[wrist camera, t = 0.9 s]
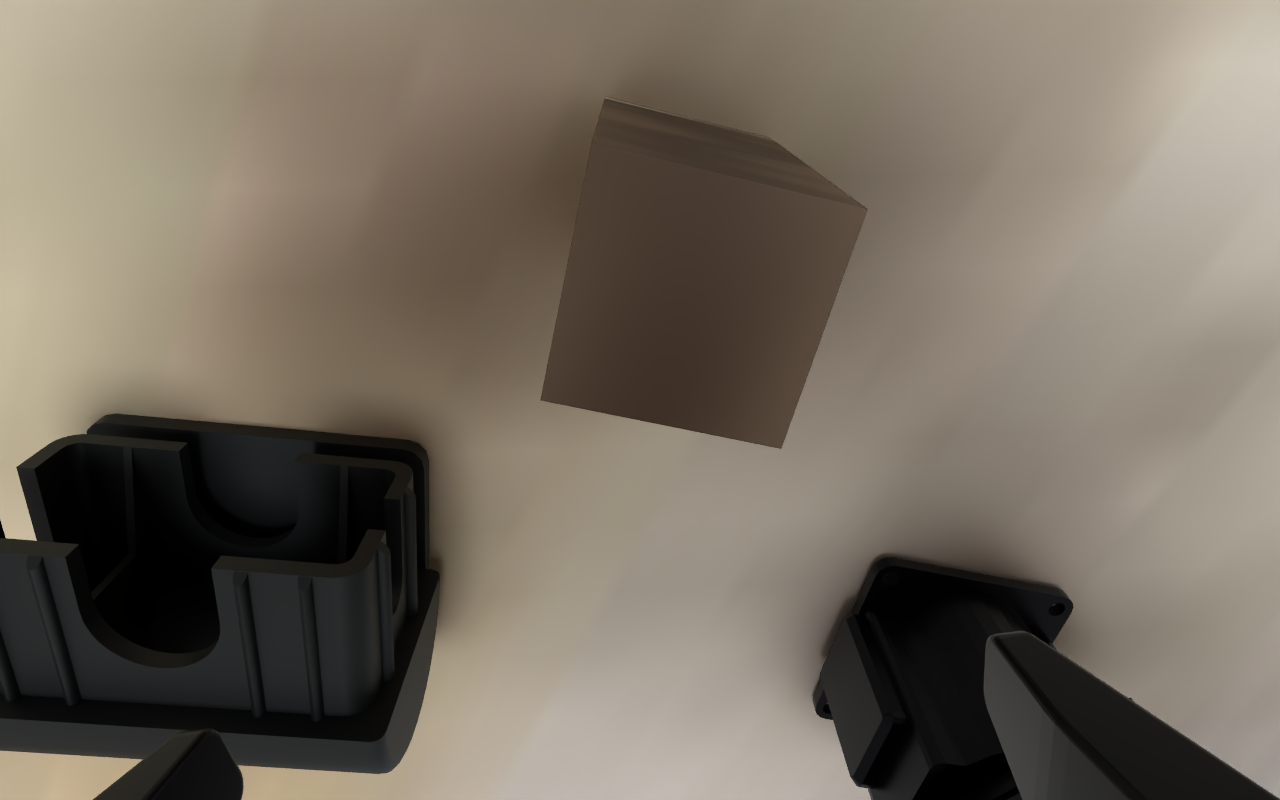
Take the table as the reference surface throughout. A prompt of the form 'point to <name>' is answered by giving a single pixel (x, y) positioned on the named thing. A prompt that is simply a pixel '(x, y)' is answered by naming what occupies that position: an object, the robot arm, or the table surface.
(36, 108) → the table surface
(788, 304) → the walnut block
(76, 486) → the end cap
